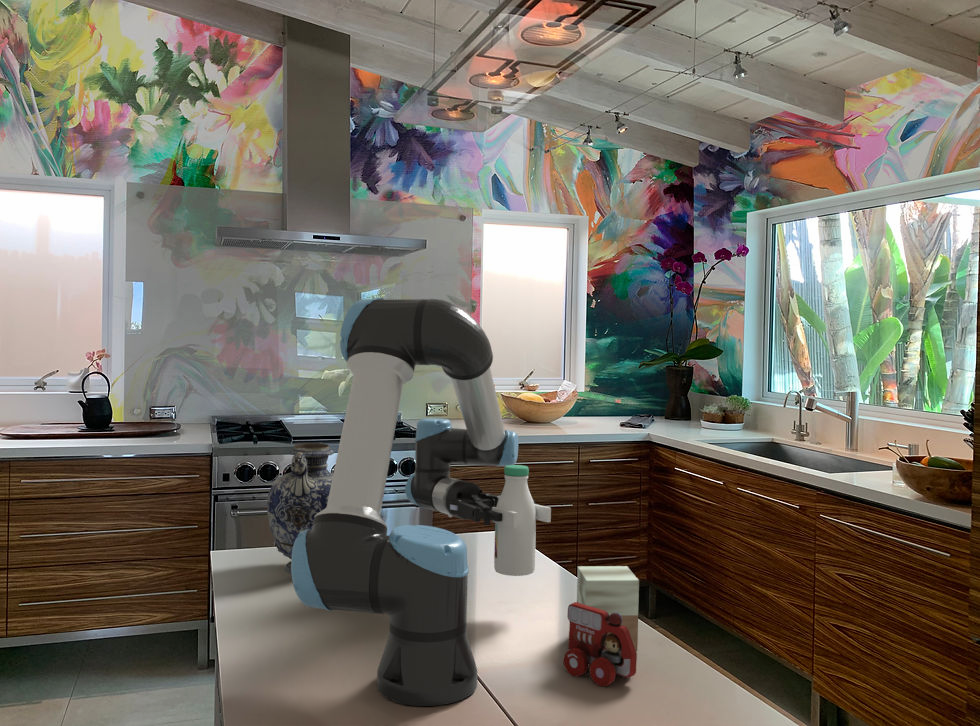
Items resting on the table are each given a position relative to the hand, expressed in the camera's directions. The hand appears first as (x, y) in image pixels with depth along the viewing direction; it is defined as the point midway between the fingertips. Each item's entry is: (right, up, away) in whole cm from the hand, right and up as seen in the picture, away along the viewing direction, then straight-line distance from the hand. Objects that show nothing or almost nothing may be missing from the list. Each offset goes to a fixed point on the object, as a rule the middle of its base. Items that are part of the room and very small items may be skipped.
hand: (532, 517), depth 151 cm
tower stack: (+12, -20, -8) cm, 25 cm away
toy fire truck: (+9, -21, -22) cm, 32 cm away
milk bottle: (-3, -11, +4) cm, 12 cm away
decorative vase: (-49, -18, +33) cm, 61 cm away
